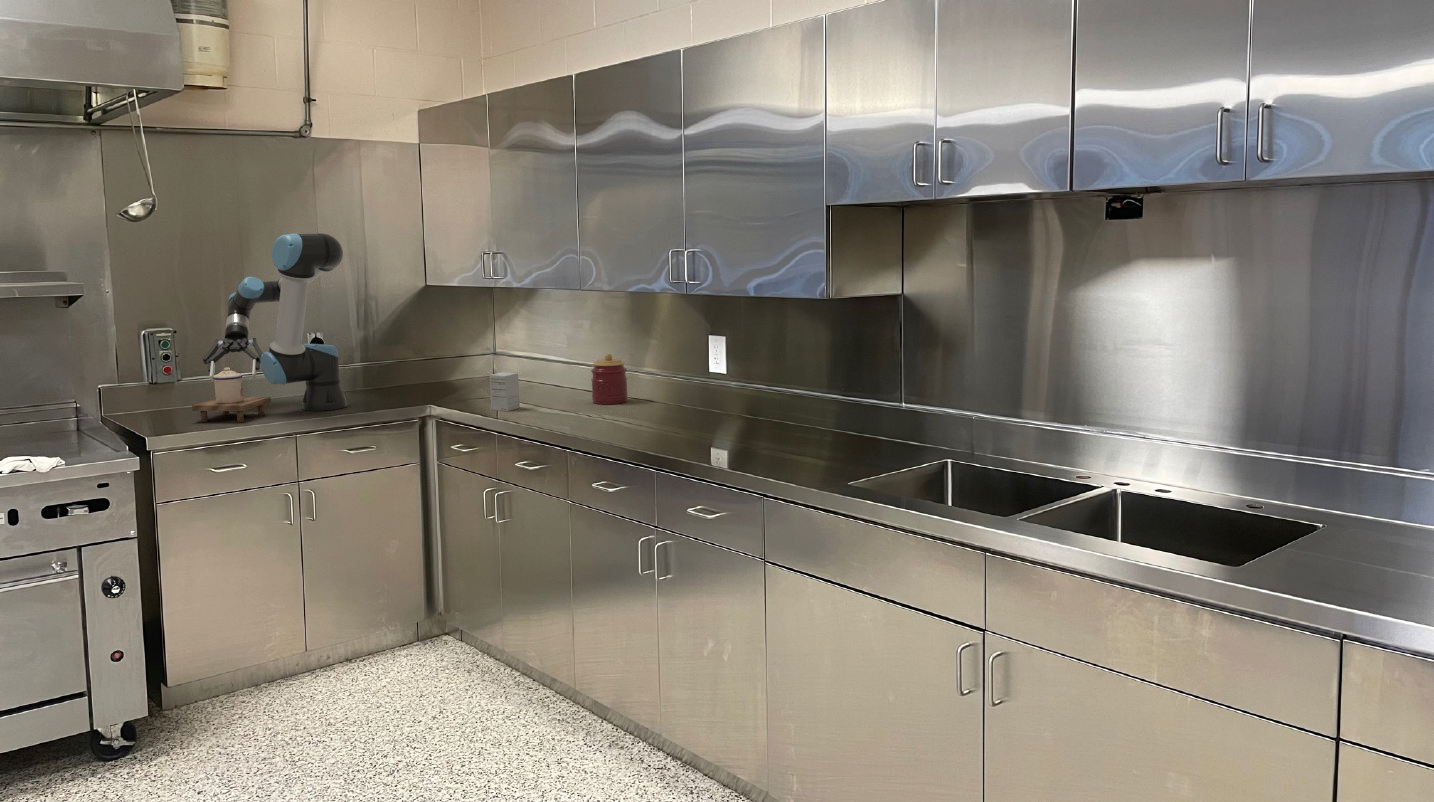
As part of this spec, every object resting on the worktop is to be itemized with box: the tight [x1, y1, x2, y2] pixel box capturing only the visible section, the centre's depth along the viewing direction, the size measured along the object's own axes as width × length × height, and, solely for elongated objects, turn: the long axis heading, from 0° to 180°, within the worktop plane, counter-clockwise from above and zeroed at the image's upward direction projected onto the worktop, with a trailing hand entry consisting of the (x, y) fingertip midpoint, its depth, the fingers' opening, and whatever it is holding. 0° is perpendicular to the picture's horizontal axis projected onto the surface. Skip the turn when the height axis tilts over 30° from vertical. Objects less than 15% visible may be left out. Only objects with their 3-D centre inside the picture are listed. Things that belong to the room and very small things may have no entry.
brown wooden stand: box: [191, 396, 272, 423], centre depth 365 cm, size 18×18×6 cm
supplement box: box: [489, 371, 521, 412], centre depth 373 cm, size 7×7×13 cm
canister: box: [590, 353, 629, 405], centre depth 384 cm, size 13×13×18 cm
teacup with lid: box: [213, 367, 245, 404], centre depth 363 cm, size 12×9×12 cm
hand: (232, 377), depth 369 cm, fingers open, 13 cm apart
